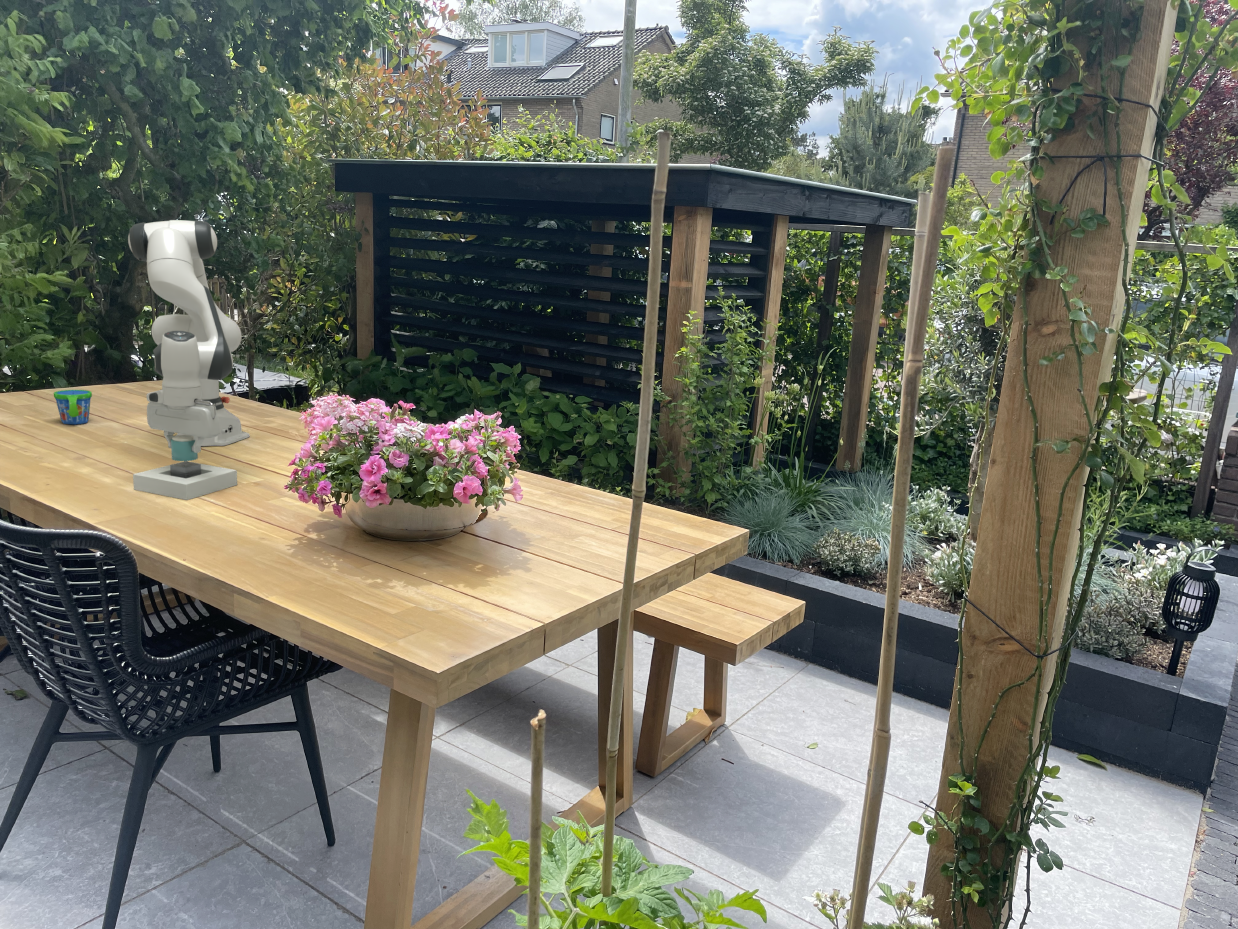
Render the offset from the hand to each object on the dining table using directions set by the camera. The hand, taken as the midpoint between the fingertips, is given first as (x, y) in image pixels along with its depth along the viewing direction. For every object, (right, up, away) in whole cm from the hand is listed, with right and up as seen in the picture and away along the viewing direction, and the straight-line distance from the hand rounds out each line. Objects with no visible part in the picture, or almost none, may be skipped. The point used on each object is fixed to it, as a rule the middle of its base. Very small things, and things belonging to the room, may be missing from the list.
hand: (184, 450), depth 226 cm
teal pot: (0, -2, 0) cm, 2 cm away
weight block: (-1, -9, +2) cm, 9 cm away
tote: (-1, -10, +2) cm, 10 cm away
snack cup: (-66, +10, +62) cm, 91 cm away
